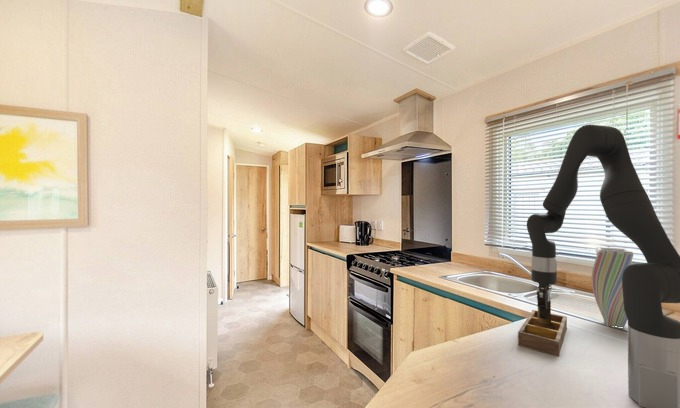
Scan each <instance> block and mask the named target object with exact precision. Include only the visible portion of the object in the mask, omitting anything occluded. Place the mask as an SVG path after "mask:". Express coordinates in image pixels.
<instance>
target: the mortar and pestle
mask: <svg viewBox="0 0 680 408" xmlns="http://www.w3.org/2000/svg"><path fill="white" fill-rule="evenodd" d="M549 286H550V284H548V285H547V288H549ZM541 304H544V302H541ZM551 304H552V301H551V299H550V300H549V302H548V303H547V307H548V308H547V319H542V318H540V317H539V307H538V306H537V311H538V320H537V321H535V322H533V325H535V326H539V327H543V328H548V329H552V330H556V327H555V326H554V325H553V324H552V323H551V314H552V310H551V309H552V307H551V306H552V305H551Z"/></svg>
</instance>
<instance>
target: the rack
mask: <svg viewBox="0 0 680 408" xmlns="http://www.w3.org/2000/svg"><path fill="white" fill-rule="evenodd" d="M537 320H538V310H536V309H532V310H531V312H530V313H529V314H528V316H527V318H526V319H525V321H524V322H523V324H522V325H521V326H520V328H519V330H518V331H517V344H518V346H519V347H523V348H527V349H530V350H534V351H537V352H541V353H543V354H544V353H545V354H547V355H551V356H555V357H560V354H561V350H562V346H563V343H564V340H565V337H566V332H567V329H568V317H567V316H564V315H559V314H555V313H551V323H552V324H553V325H554V326H555V327H556V330H552V329H548V328H543V327H539V326H535V325H533V322H535V321H537Z"/></svg>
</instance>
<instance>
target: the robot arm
mask: <svg viewBox="0 0 680 408" xmlns="http://www.w3.org/2000/svg"><path fill="white" fill-rule="evenodd" d="M629 152H630V151H629V149H628V146H627V142H626V140H625V136H624V135H623V133H622V131H621V130H619V129H618V128H616V127H613V126H608V125H598V124H584V125H582V126H581V127H579V128H578V129H577V130H576V131H575V132H574V133H573V135H572V137H571V139H570V141H569V144H568V146H567V148H566V151H565V154H564V156H563V159H562V162H561V165H560V167H559V170H558V173H557V176H556V178H555V180H554V182H553V185H552V187H551V188H550V190H549V191H548V192H547V195H546V197H545V198H544V200H543V202H542V206H543V208H544V209H545V210H546V211H547V212H546V213H533V214H531V215H530V216H529V217H528V218H527V221H526V230H527V232H528V235H529V239H530V242H531V252H532V253H531V254H532V255H531V261H530V262H531V267H530V268H531V281H532V282H533V283H537V284H538V285H537V287H536V300H537V308H538V307H539V317H540V318H542V319H547V308H548V307H547V303H548V302H549V300H550V301H551V297H552V294H551V293H552V286H551V285H555V284H557V283H558V272H557V271H558V270H557V269H558V264H557V263H558V262H557V257H556V256H557V253H556V252H557V248H556V243H555V241H554V240H550V239H548V238H547V236H546V234H554V233H556V232H558V231H559V230H560V229H561V227H562V226H563V223H564V220H565V218H566V213H567V209H568V208H569V207H570V205H571V204H572V202H573V201H574V199H575V197H576V195H577V192H578V188H579V182H578V181H579V180H578V179H579V178H578V177H579V170H580V167H581V165H582V164H583V162H584V161H585V160H586V158H587V157H592V158H597V159H598V161H599V162H600V165H601V166H602V169H603V172H604V178H603V181H602V184H601V186H600V187H601V188H600V189H599V190H600V191H599V200H600V203H601V206H602V209H603V211H604V213H605V215H606V217H607V219H608V221H609V222H610V223H611V225H612V226H613V227H615V228H616V229H618V231H619V232H620V233H622V234H623V235H625V236H626V237H627V238H628V239H630V241H632V242H633V244H634V245H636V246H637V248H638V249H639V250H640V252H641V253H642V255H643V258H644V259H645V261H646V262H634V263H633V262H632V264H630V265H628V266H627V267H626V268H625V269H624V272H623V275H622V289H623V301H624V310H625V314H626V316H627V319H628V320H627V373H628V374H627V375H628V377H627V383H628V384H627V385H628V387H627V389H628V391H627V393H628V396H629V395H630V396H629V397H630V398H631V399H632V400H634V401H635V403H637V404H638V406H639V407H642V408H680V321H679V320H677V319H675V318H672V317H671V316H670V317H669V316H667V315H664V311H663V306H662V304H680V254H679V253H678V251H677V249H676V248H675V246H674V245H673V243H672V241H671V239H670V238H669V236H668V235H667V233H666V231H665V229H664V227H663V225H662V223H661V221H660V219H659V218H658V215H657V214H656V211H655V208H654V206H653V203H652V201H651V200H650V197H649V196H648V193H647V192H646V189H645V188H644V186H643V184H642V182H641V180H640V178H639V176H638V173H637V171H636V169H635V166H634V164H633V161H632V158H631V155H630V153H629ZM548 284H549V288H547V285H548ZM541 302H544V304H541Z"/></svg>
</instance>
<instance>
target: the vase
mask: <svg viewBox="0 0 680 408" xmlns="http://www.w3.org/2000/svg"><path fill="white" fill-rule="evenodd" d="M594 249H595V252H596V258H595V260H594V264H593V267H592V271H591V287H592V288H591V289H592V292H593V296H594V299H595V302H596V304H597V307H598V309H599V312H600V313H601V316H602V319H603V323H604V324H605V323H606V324H605V326H606V325H607V326H606V327H609V326H611V327H610V328H615V326H617V327H623V328H624V329H625V327H626V324H627V323H628V319H627V316H626V314H625V310H624V301H623V289H622V275H623V272H624V269H625V268H626V267H627V266H628V265H630V264H633V258H634V255H635V253H634V252H633V251H632V250H629V249H627V248H620V247H602V246H601V247H600V246H595V248H594ZM612 326H614V327H612Z"/></svg>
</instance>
